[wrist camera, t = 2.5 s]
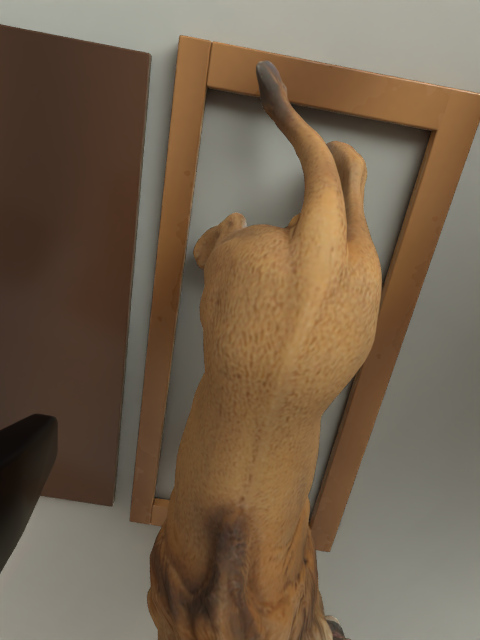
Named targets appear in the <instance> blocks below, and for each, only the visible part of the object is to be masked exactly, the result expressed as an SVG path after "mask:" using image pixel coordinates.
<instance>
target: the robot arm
mask: <svg viewBox="0 0 480 640" xmlns="http://www.w3.org/2000/svg"><path fill="white" fill-rule="evenodd" d="M57 450H58V421H57V418H56V417H55V416H51V415H44V414H37V413H36V414H33V415H30V416H28V417H26V418H24V419H22V420H20V421H18V422H16V423H14V424H12V425H10V426H8V427H6V428H3V429H1V430H0V573H1V571H2V570H3V568H4V566H5V564H6V563H7V561H8V559H9V557H10V556H11V554H12V552H13V551H14V549H15V547H16V545H17V543H18V542H19V540H20V538H21V536H22V534H23V532H24V530H25V528H26V526H27V523H28V521H29V519H30V517H31V514H32V512H33V510H34V508H35V505H36V503H37V501H38V499H39V497H40V494H41V492H42V490H43V488H44V485H45V483H46V481H47V479H48V476H49V474H50V472H51V470H52V467H53V465H54V463H55V460H56V456H57Z"/></svg>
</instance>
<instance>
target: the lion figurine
mask: <svg viewBox="0 0 480 640" xmlns="http://www.w3.org/2000/svg"><path fill="white" fill-rule="evenodd" d="M256 76H257V80H258V85H259V92H260V97H261V103H262V106H263V109H264V111H265V112H266V113H267V114H268V115H269V117H270V118H271V119H272V120H273V121H274V122H275V124H276V125H277V127H278V128H279V129H280V130H281V131H282V133H283V134H284V135H285V136H286V137H287V139H288V140H289V141H290V143H291V144H292V145H293V147H294V149H295V151H296V154H297V156H298V158H299V159H300V162H301V165H302V169H303V173H304V181H305V192H304V201H303V206H302V210H301V213H299V214H297V215H295V216H294V217H293V218H292V219H291V221H290V223H289V225H288V226H287V227H285V228H280V227H275V226H272V225H268V224H259V225H252V226H249V227H247V224H246V218H245V217H244V216H243V215H242V214H239V213H232V214H231V215H229V216H228V217H227V218H226V219H225V220H224V221H223V222H221V223H220V224H219V225H218V226H215V227H213V228H210V229H209V230H207V231H206V232H205V233H204V234H203V235H202V236H201V238H200V239H199V240H198V241H197V243H196V245H195V247H194V252H193V254H194V258H195V260H196V262H197V264H198V266H199V268H201V269H203V270H204V285H205V287H204V290H203V294H202V297H201V301H200V320H201V324H202V327H203V347H204V363H205V373H204V375H203V377H202V379H201V381H200V383H199V385H198V387H197V390H196V392H195V395H194V399H193V403H192V407H191V411H190V414H189V417H188V420H187V423H186V426H185V429H184V432H183V435H182V439H181V442H180V445H179V449H178V454H177V461H176V470H175V486H174V488H173V491H172V493H171V496H170V501H169V505H168V513H167V518H166V520H165V522H164V524H163V525H162V527H161V529H160V531H159V533H158V535H157V537H156V540H155V543H154V546H153V549H152V551H151V554H150V581H151V587H150V589H149V591H148V594H147V604H148V609H149V612H150V615H151V617H152V619H153V621H154V624H155V626H156V627H157V629H158V640H351V639H348V638H345V636H344V634H343V631H342V628H341V626H340V624H339V621H338V620H337V619H336V618H335V617H333V616H325V614H324V608H323V601H322V597H321V594H320V591H319V589H318V571H317V560H316V550H315V544H314V541H313V538H312V536H311V532H310V529H309V526H308V520H309V513H310V502H309V498H308V494H309V492H310V489H311V486H312V482H313V479H314V473H315V468H316V462H317V457H318V450H319V438H320V427H321V417H322V415H323V413H324V412H325V410H326V409H327V408H328V407H329V405H330V404H331V403H332V402H333V400H334V399H335V398H336V397H337V396H338V395H339V394H340V392H341V391H342V390H343V389H344V388H345V387H346V385H347V384H348V383H349V382H350V380H351V379H352V378H353V376H354V375H355V374H356V373H357V371H358V370H359V369H360V367H361V366H362V365H363V363H364V362H365V360H366V358H367V356H368V354H369V352H370V350H371V348H372V345H373V342H374V339H375V333H376V327H377V320H378V314H379V307H380V299H381V284H382V275H381V266H380V262H379V257H378V255H377V252H376V249H375V246H374V244H373V242H372V239H371V236H370V233H369V229H368V226H367V223H366V219H365V216H364V211H363V200H364V186H365V182H366V178H367V168H366V163H365V161H364V159H363V158H362V156H361V155H360V154H358V153H357V152H356V151H355V150H354V148H353V147H352V146H350V145H348V144H346V143H342V142H338V141H332V142H329V143H327V144H326V143H325V142H324V140H323V139H322V137H321V136H320V135H319V134H318V133H317V132H316V131H315V130H313V129H312V128H311V127H310V126H309V125H308V124H307V123H306V122H305V121H304V120H303V119H302V118H301V117H300V116H299V114H298V113H297V112H296V111H295V110H294V109H293V108H292V107H291V104H290V102H289V101H288V98H287V88H286V86H285V85H284V84H283V82H282V80H281V77H280V74H279V71H278V70H277V69H276V67H275V66H274V65H273V64H272V63H271V62H270V61H260V62H259V63H258V64H257V65H256Z"/></svg>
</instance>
